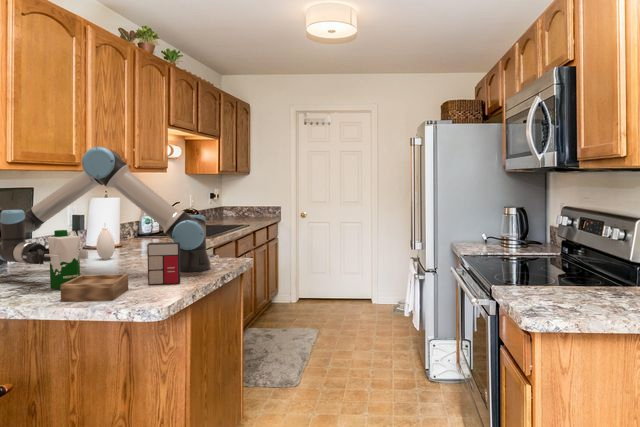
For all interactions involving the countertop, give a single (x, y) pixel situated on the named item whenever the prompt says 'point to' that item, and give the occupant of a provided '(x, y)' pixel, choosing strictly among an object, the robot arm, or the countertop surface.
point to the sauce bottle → (105, 244)
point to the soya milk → (64, 258)
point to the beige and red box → (163, 263)
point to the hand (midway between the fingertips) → (73, 257)
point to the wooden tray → (94, 288)
